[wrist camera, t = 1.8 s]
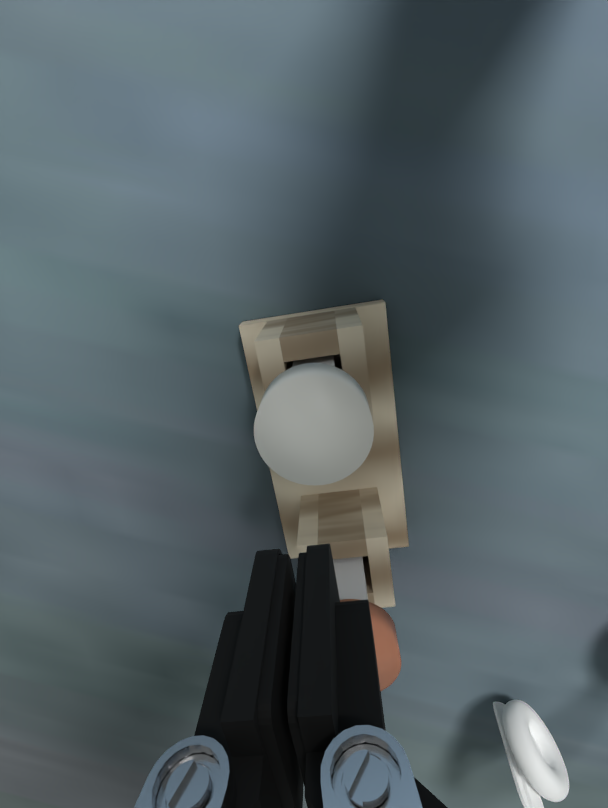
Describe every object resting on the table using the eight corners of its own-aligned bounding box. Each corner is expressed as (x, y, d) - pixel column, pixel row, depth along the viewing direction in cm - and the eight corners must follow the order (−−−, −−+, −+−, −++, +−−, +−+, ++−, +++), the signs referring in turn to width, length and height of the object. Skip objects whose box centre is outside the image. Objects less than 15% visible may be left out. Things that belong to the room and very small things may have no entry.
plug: (265, 341, 26) (242, 385, 18) (354, 327, 25) (366, 368, 18) (281, 421, 28) (266, 491, 20) (364, 410, 27) (379, 478, 20)
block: (242, 321, 32) (219, 347, 25) (382, 299, 31) (399, 319, 24) (290, 546, 39) (283, 616, 32) (405, 534, 38) (424, 603, 31)
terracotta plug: (304, 535, 31) (298, 632, 23) (379, 528, 30) (396, 624, 23) (315, 593, 33) (313, 700, 25) (386, 586, 32) (405, 693, 25)
